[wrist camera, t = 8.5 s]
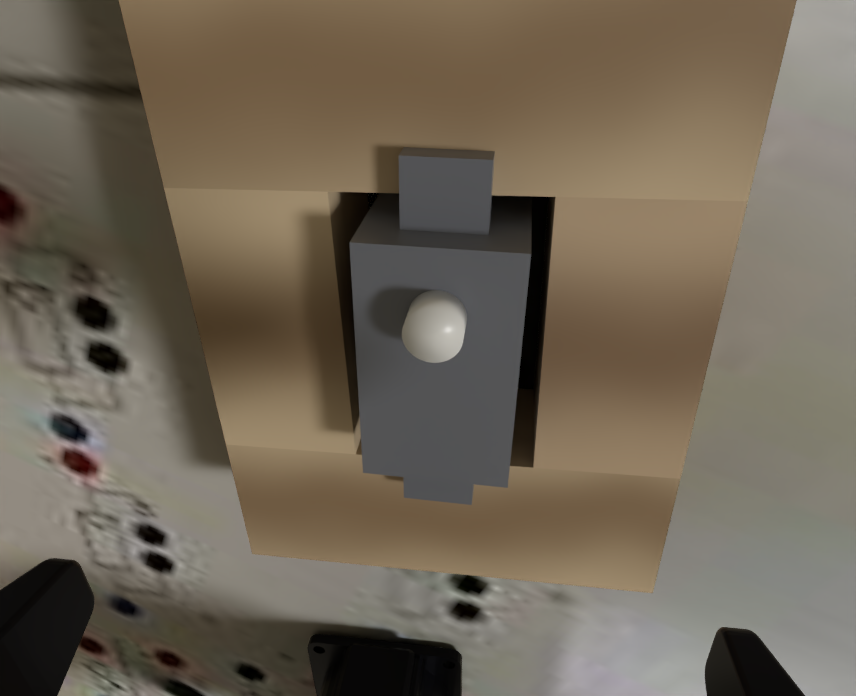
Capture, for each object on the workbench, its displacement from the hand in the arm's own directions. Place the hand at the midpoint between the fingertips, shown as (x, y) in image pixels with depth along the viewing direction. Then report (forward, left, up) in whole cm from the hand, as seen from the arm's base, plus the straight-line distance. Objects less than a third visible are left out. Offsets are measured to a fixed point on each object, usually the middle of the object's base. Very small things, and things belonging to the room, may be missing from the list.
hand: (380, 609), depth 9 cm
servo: (0, 0, -11) cm, 11 cm away
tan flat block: (0, 0, -11) cm, 11 cm away
